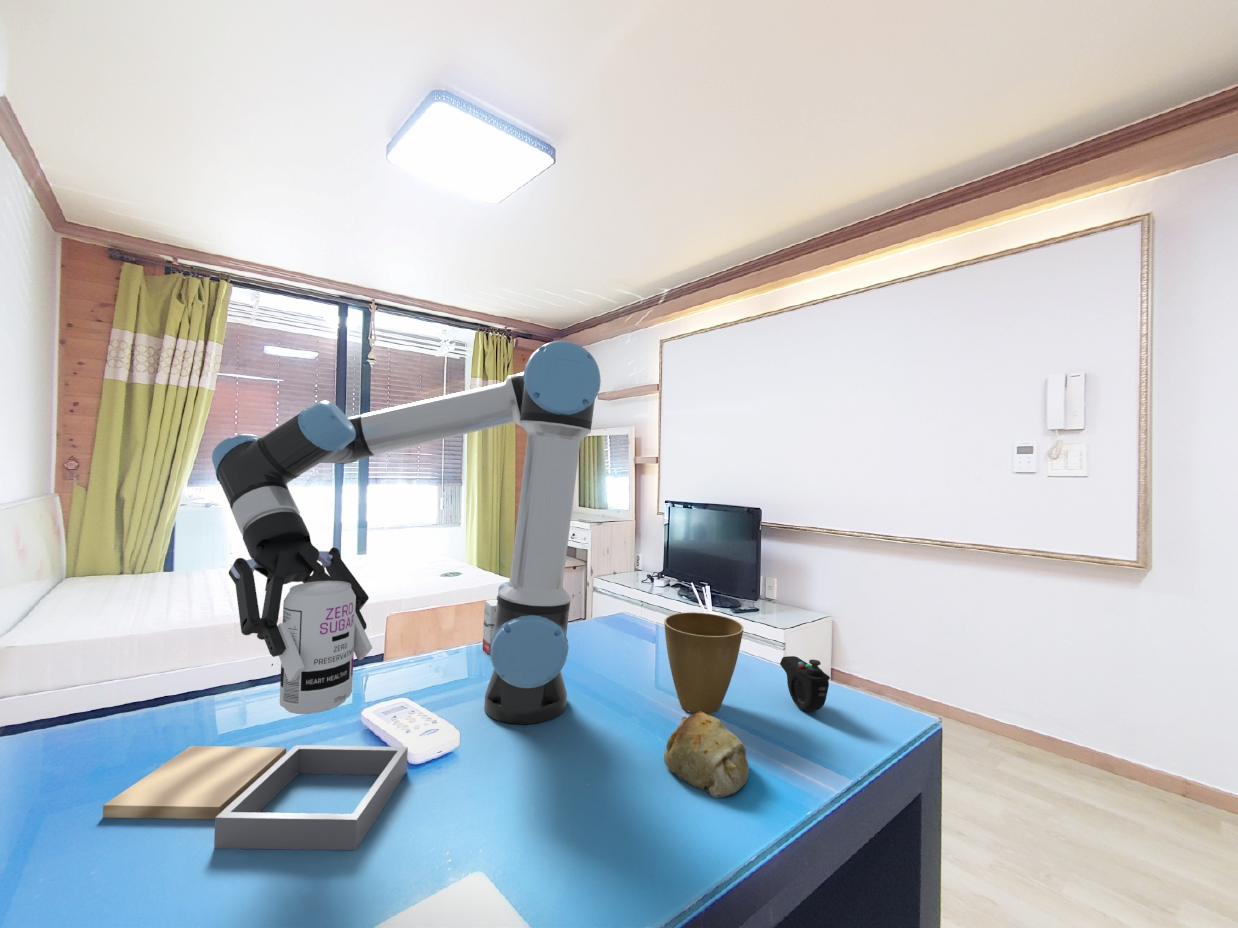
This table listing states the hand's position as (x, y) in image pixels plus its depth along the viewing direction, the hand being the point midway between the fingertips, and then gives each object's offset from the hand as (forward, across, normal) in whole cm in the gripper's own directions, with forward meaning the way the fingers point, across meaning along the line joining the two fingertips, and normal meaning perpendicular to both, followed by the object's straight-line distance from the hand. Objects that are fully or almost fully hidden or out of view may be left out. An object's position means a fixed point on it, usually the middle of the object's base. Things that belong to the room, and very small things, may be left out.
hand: (332, 663), depth 68 cm
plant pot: (+33, -56, +6) cm, 66 cm away
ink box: (-4, -58, -31) cm, 65 cm away
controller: (+44, -68, +18) cm, 83 cm away
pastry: (+39, -37, +12) cm, 55 cm away
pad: (0, +6, -27) cm, 28 cm away
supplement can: (+2, 0, -6) cm, 7 cm away
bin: (+12, -1, -15) cm, 19 cm away
